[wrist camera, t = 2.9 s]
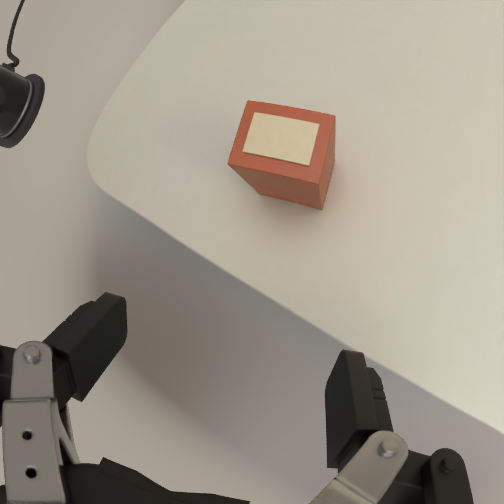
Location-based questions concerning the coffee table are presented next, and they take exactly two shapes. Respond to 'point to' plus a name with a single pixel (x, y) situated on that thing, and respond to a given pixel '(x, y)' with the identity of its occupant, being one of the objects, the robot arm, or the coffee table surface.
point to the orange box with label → (285, 152)
